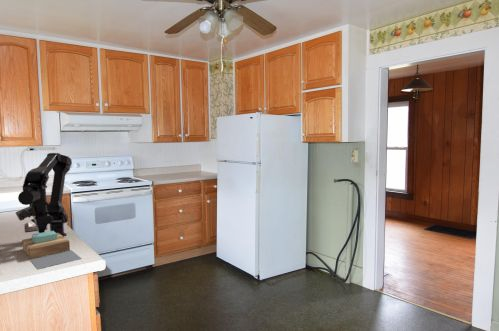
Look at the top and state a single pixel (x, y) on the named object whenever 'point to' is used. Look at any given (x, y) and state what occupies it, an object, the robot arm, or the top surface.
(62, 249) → the oak deck
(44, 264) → the slate mat
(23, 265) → the top surface
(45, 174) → the robot arm
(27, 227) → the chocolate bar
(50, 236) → the teal tile
